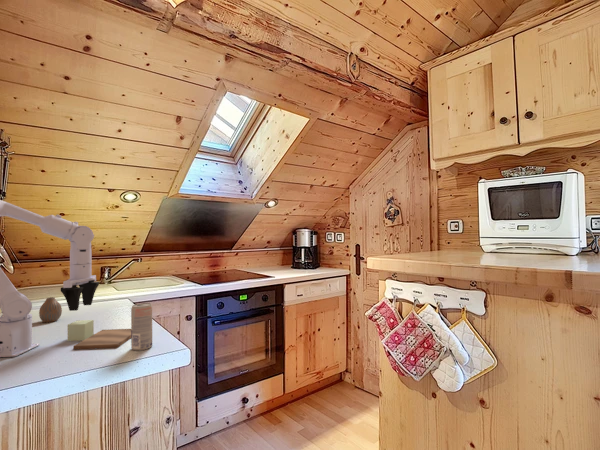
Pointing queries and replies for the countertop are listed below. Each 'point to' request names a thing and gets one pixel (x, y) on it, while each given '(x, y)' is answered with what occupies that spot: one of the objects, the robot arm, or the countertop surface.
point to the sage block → (80, 330)
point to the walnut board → (105, 339)
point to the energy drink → (141, 326)
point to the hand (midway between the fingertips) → (80, 307)
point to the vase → (50, 310)
